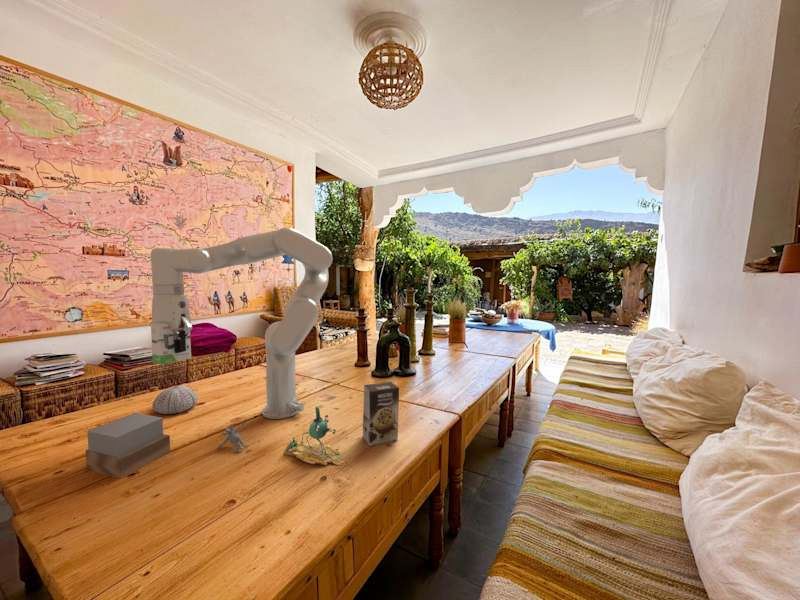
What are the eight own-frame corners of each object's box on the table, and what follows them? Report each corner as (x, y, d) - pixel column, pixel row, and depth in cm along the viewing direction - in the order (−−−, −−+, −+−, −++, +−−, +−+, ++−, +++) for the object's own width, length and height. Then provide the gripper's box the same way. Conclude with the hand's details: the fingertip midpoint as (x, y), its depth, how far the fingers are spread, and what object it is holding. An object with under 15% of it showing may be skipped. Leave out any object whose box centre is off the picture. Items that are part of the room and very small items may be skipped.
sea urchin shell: (162, 420, 107) (161, 396, 106) (145, 410, 114) (144, 387, 113) (205, 407, 118) (204, 385, 117) (187, 398, 125) (187, 377, 124)
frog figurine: (300, 440, 97) (305, 392, 95) (352, 461, 90) (358, 410, 88) (276, 456, 88) (280, 403, 86) (331, 481, 81) (338, 425, 79)
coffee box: (369, 446, 93) (370, 391, 92) (362, 436, 99) (362, 384, 98) (398, 440, 97) (399, 387, 96) (390, 430, 103) (391, 380, 102)
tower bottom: (170, 453, 89) (169, 435, 88) (121, 479, 77) (120, 459, 77) (138, 445, 92) (137, 428, 92) (86, 469, 81) (85, 450, 80)
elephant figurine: (222, 460, 86) (208, 440, 90) (234, 465, 90) (220, 446, 94) (251, 432, 89) (236, 413, 94) (261, 438, 93) (246, 420, 98)
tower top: (163, 435, 88) (162, 417, 88) (117, 457, 78) (116, 437, 77) (135, 430, 91) (134, 412, 90) (88, 450, 80) (87, 430, 80)
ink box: (160, 365, 94) (158, 324, 93) (151, 362, 96) (149, 322, 95) (192, 358, 101) (190, 320, 100) (183, 356, 104) (181, 319, 102)
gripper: (202, 290, 98) (205, 350, 99) (159, 289, 103) (162, 346, 104) (179, 292, 91) (182, 356, 92) (134, 290, 96) (138, 351, 97)
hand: (172, 350), depth 98 cm, fingers closed on ink box, 5 cm apart
